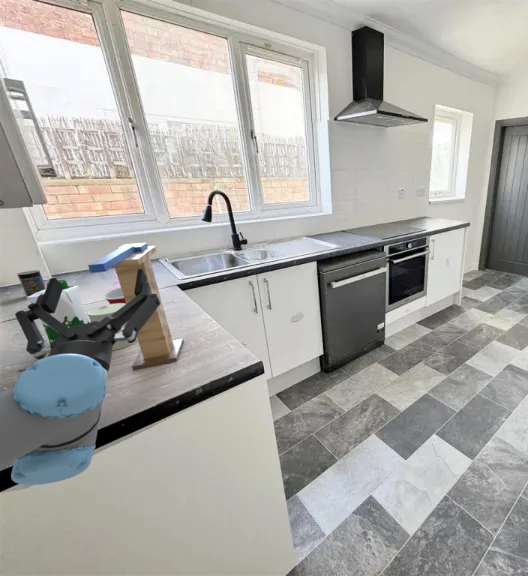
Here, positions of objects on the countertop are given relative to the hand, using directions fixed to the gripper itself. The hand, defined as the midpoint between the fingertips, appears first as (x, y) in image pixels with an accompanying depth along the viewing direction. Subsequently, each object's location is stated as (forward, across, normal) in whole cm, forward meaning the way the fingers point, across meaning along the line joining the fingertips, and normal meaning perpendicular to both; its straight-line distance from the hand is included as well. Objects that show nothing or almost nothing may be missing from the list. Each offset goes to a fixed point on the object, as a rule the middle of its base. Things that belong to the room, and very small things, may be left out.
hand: (101, 277), depth 62 cm
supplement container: (+76, -63, -77) cm, 125 cm away
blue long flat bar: (+11, 0, -5) cm, 13 cm away
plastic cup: (+29, -14, -50) cm, 59 cm away
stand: (+1, 0, -34) cm, 34 cm away
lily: (+66, -26, -72) cm, 101 cm away
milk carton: (+17, -25, -43) cm, 53 cm away
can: (+14, -13, -42) cm, 46 cm away
